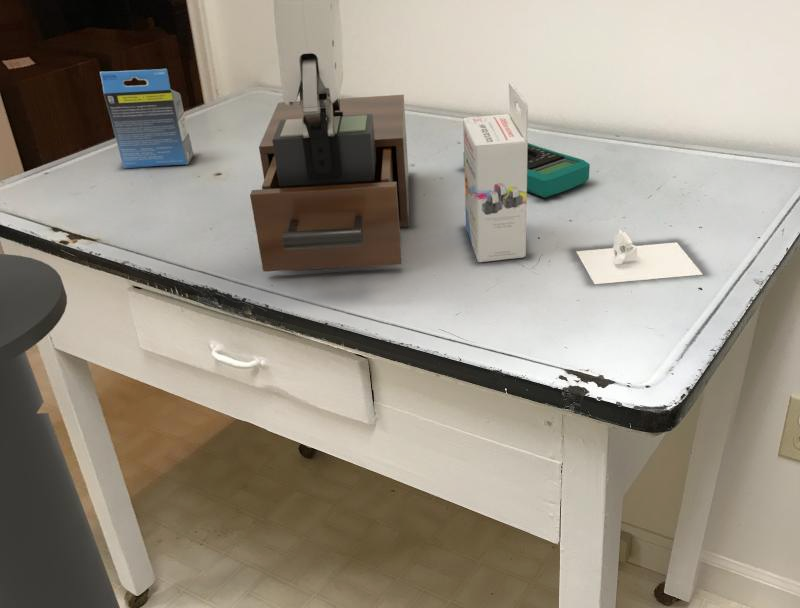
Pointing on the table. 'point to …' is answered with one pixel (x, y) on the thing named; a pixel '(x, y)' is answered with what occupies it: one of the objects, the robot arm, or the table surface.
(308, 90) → the robot arm
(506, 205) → the ink box
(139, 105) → the label tape box
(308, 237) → the drawer
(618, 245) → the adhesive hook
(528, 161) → the digital multimeter
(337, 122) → the grey rectangular box
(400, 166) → the cabinet
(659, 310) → the table surface
